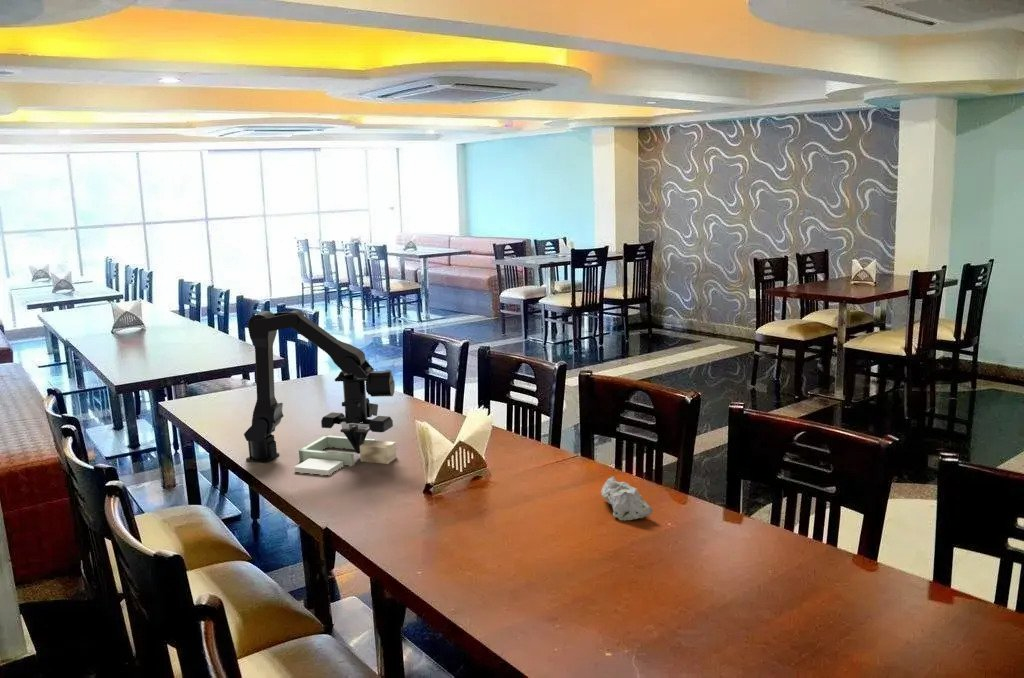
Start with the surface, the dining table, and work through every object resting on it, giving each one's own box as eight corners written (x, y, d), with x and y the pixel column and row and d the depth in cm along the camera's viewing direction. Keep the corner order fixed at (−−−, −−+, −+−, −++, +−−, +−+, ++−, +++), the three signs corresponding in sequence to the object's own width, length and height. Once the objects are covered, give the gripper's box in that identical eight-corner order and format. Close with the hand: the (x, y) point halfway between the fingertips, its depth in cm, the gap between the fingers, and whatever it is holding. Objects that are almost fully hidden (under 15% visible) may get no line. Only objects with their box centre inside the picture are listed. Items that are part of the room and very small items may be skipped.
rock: (588, 500, 185) (588, 472, 183) (616, 495, 187) (616, 467, 186) (622, 527, 171) (622, 496, 169) (652, 520, 173) (652, 491, 172)
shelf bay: (299, 461, 217) (298, 450, 216) (326, 445, 229) (325, 435, 229) (351, 466, 212) (351, 455, 211) (376, 449, 224) (375, 439, 224)
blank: (360, 462, 216) (359, 445, 215) (370, 455, 220) (368, 439, 219) (387, 464, 213) (386, 448, 212) (396, 458, 218) (395, 442, 217)
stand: (294, 472, 208) (294, 467, 208) (309, 463, 215) (309, 458, 215) (328, 476, 205) (328, 470, 205) (343, 466, 212) (342, 461, 211)
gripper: (400, 390, 220) (403, 446, 223) (339, 387, 226) (343, 441, 229) (380, 401, 209) (384, 459, 212) (317, 397, 215) (322, 453, 218)
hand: (358, 452), depth 218 cm, fingers closed
